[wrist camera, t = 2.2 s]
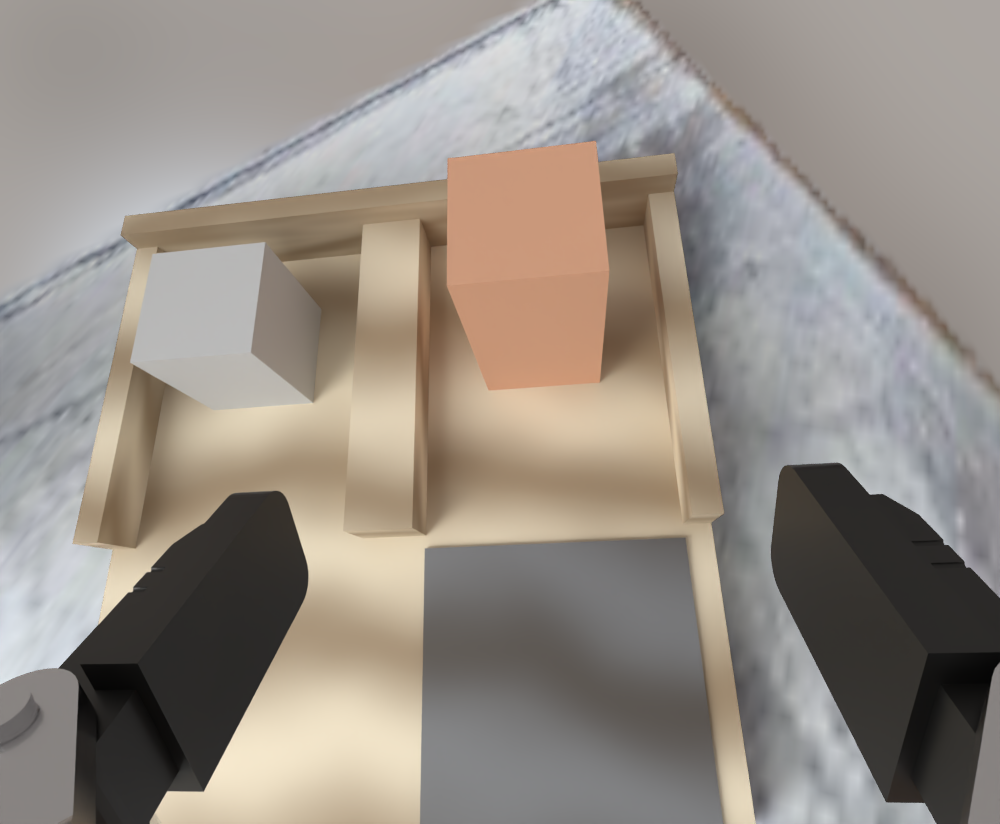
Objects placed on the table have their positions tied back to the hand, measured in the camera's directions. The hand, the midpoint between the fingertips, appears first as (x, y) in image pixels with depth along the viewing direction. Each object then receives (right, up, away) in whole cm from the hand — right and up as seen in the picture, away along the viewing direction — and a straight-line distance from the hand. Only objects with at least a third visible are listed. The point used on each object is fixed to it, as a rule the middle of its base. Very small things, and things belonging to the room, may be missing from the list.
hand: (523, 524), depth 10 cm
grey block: (-11, +4, +16) cm, 20 cm away
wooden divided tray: (-4, -2, +15) cm, 16 cm away
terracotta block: (+1, +5, +15) cm, 16 cm away
